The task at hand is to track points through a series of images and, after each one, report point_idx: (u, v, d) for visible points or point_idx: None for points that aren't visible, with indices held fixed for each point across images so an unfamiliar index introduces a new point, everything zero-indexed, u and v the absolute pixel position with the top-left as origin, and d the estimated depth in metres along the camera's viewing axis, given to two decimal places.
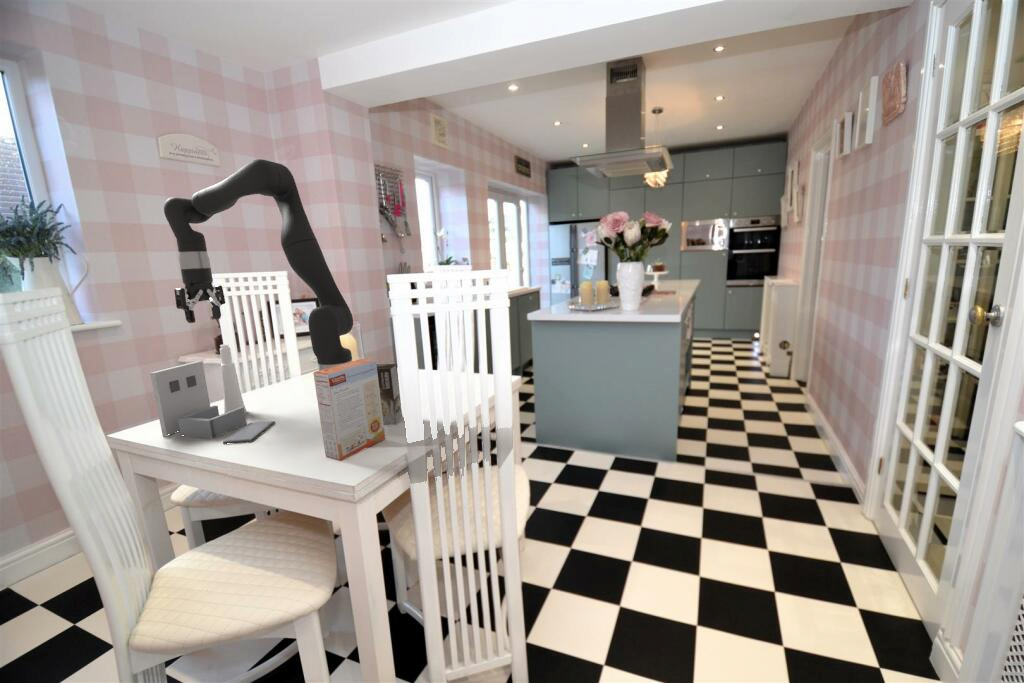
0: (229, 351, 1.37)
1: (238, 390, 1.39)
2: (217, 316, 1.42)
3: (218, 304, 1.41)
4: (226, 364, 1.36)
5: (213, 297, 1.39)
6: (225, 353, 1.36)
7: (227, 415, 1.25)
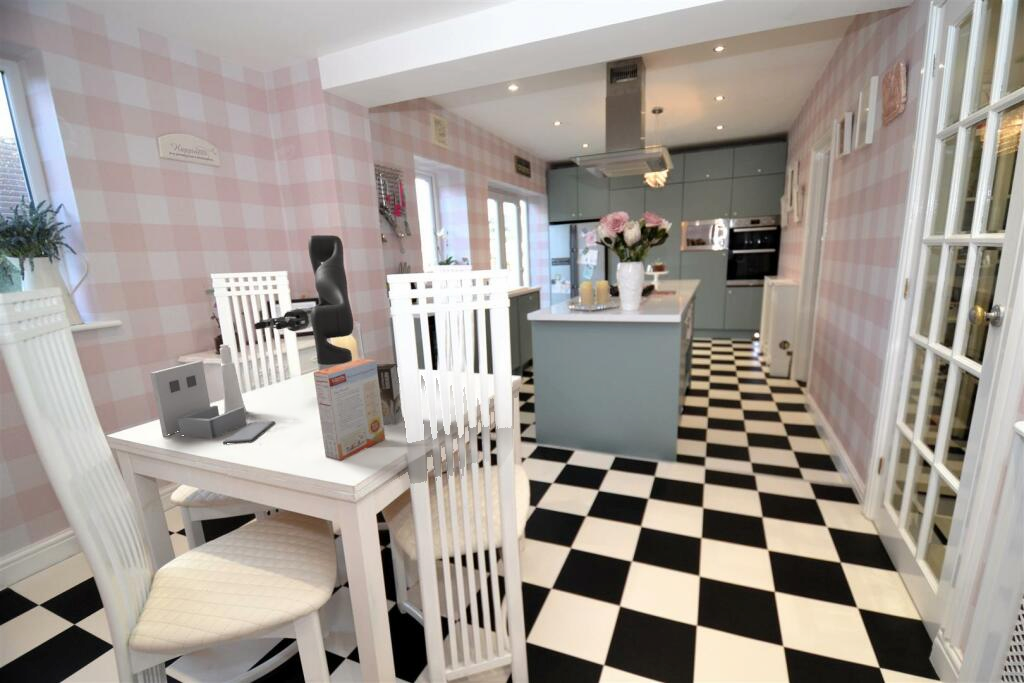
0: (229, 351, 1.37)
1: (238, 390, 1.39)
2: None
3: None
4: (226, 364, 1.36)
5: (287, 318, 1.53)
6: (225, 353, 1.36)
7: (227, 415, 1.25)
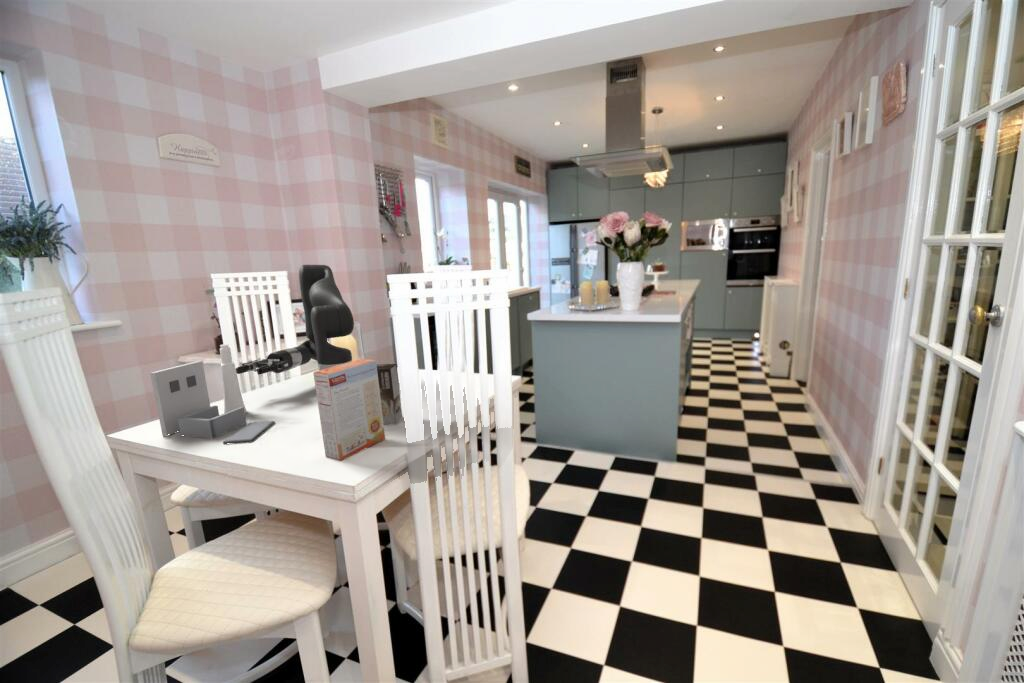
0: (229, 351, 1.37)
1: (238, 390, 1.39)
2: None
3: (269, 364, 1.48)
4: (226, 364, 1.36)
5: (270, 361, 1.51)
6: (225, 353, 1.36)
7: (227, 415, 1.25)
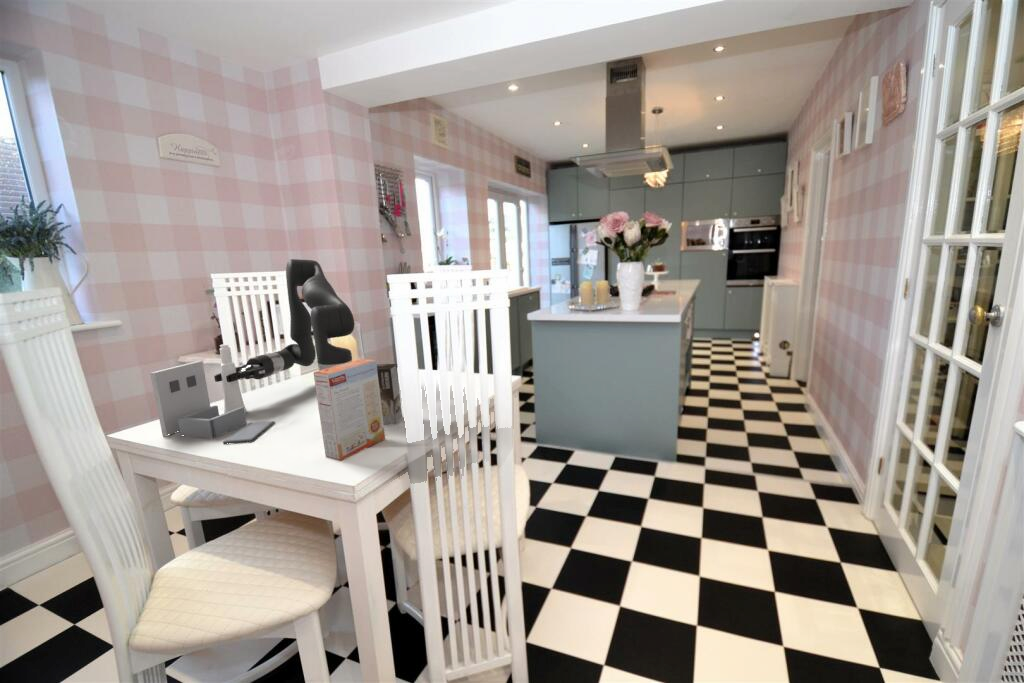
0: (229, 351, 1.37)
1: (238, 390, 1.39)
2: None
3: (240, 371, 1.39)
4: (226, 364, 1.36)
5: (245, 367, 1.42)
6: (225, 353, 1.36)
7: (227, 415, 1.25)
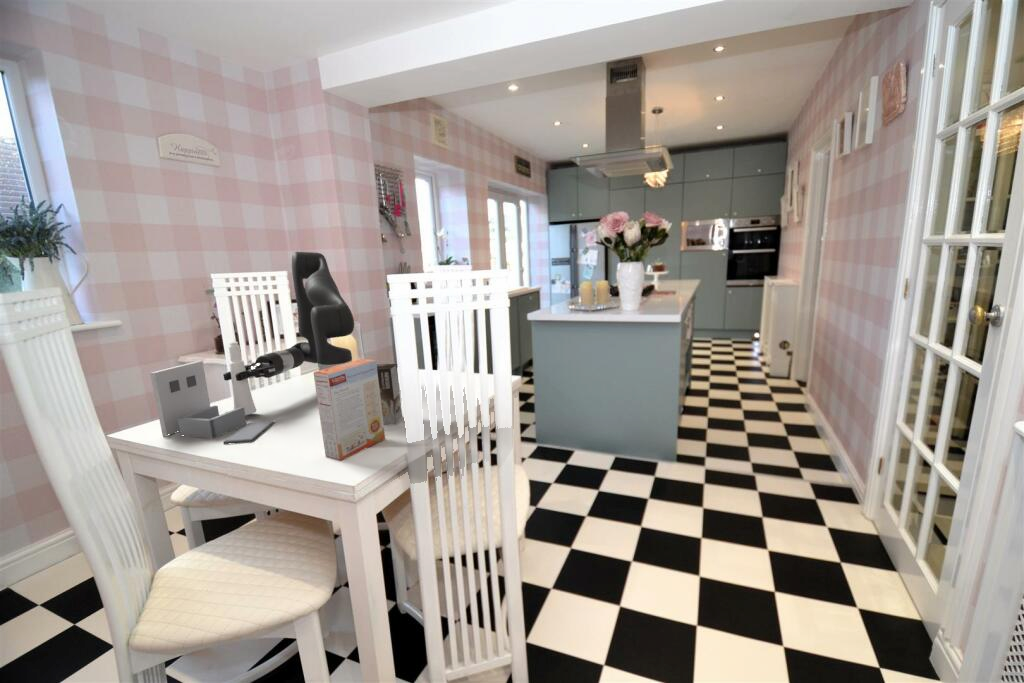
0: (238, 349, 1.33)
1: (248, 389, 1.36)
2: None
3: None
4: (235, 362, 1.33)
5: (255, 365, 1.39)
6: (234, 351, 1.33)
7: (227, 415, 1.25)
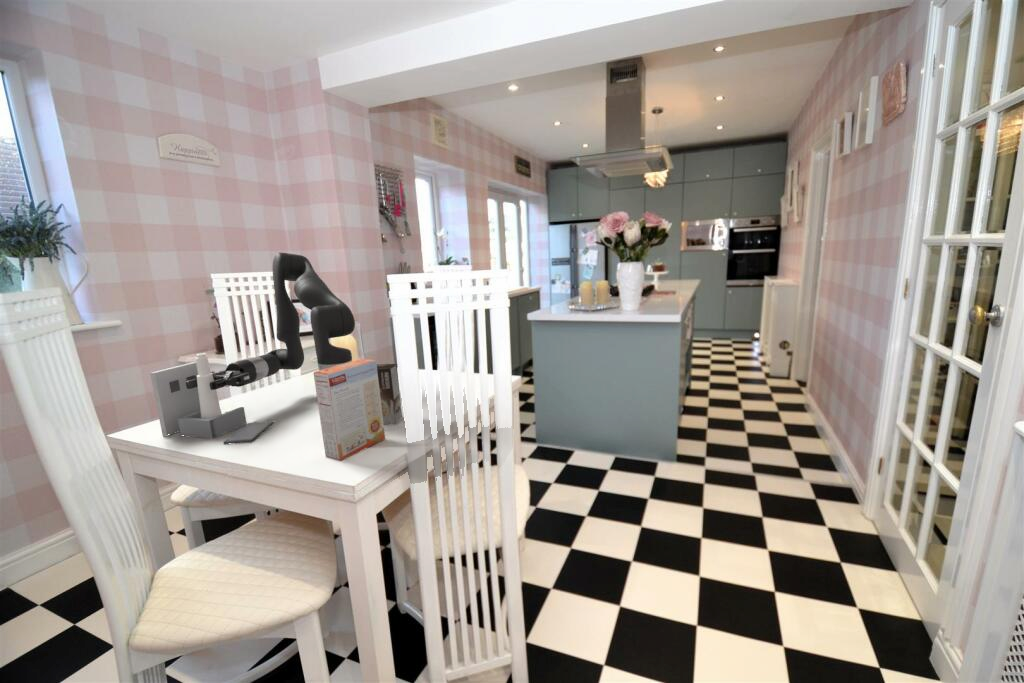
0: (206, 361, 1.23)
1: (217, 404, 1.26)
2: None
3: None
4: (202, 376, 1.23)
5: (227, 373, 1.28)
6: (202, 363, 1.23)
7: (227, 415, 1.25)
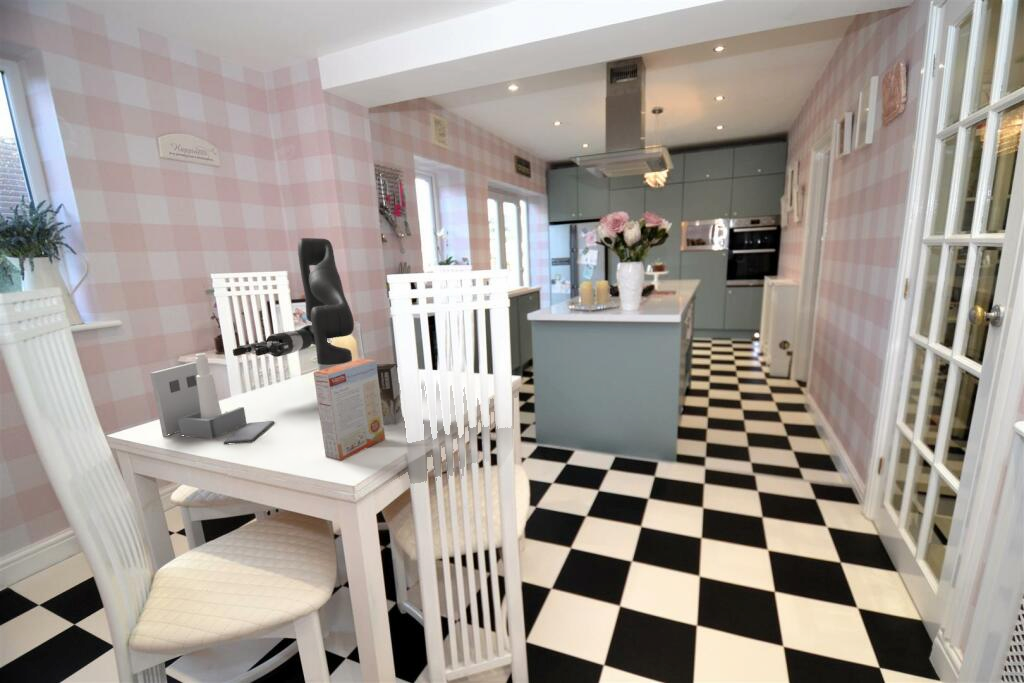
0: (206, 361, 1.23)
1: (216, 404, 1.26)
2: None
3: (268, 345, 1.39)
4: (202, 376, 1.23)
5: (269, 343, 1.42)
6: (201, 363, 1.23)
7: (227, 415, 1.25)
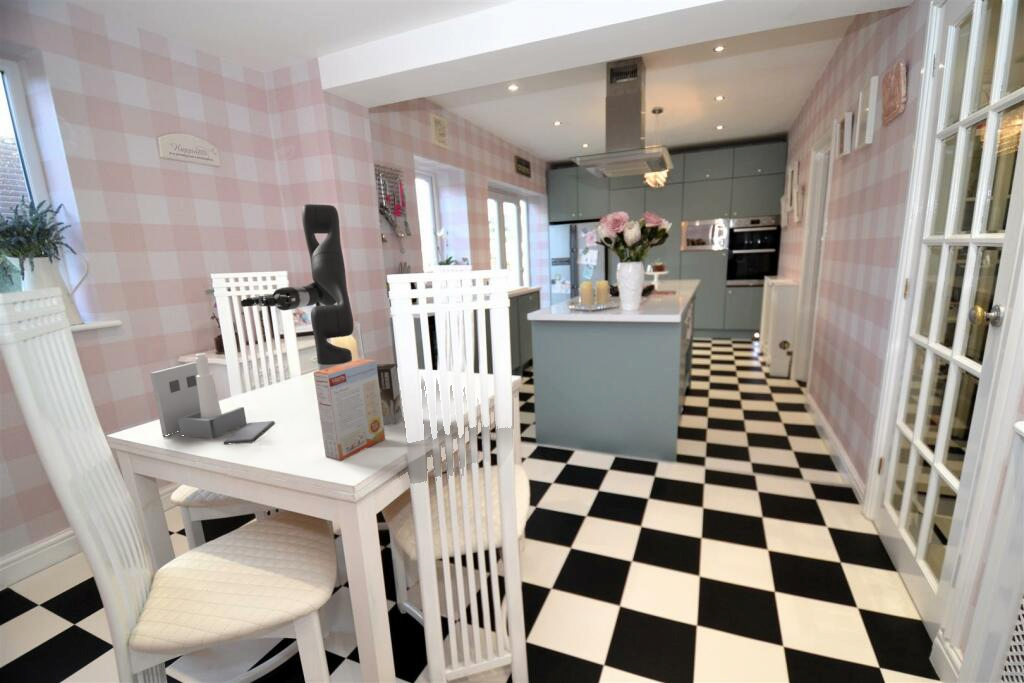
0: (206, 361, 1.23)
1: (216, 404, 1.26)
2: None
3: (275, 297, 1.40)
4: (202, 376, 1.23)
5: (276, 295, 1.43)
6: (201, 363, 1.23)
7: (227, 415, 1.25)
